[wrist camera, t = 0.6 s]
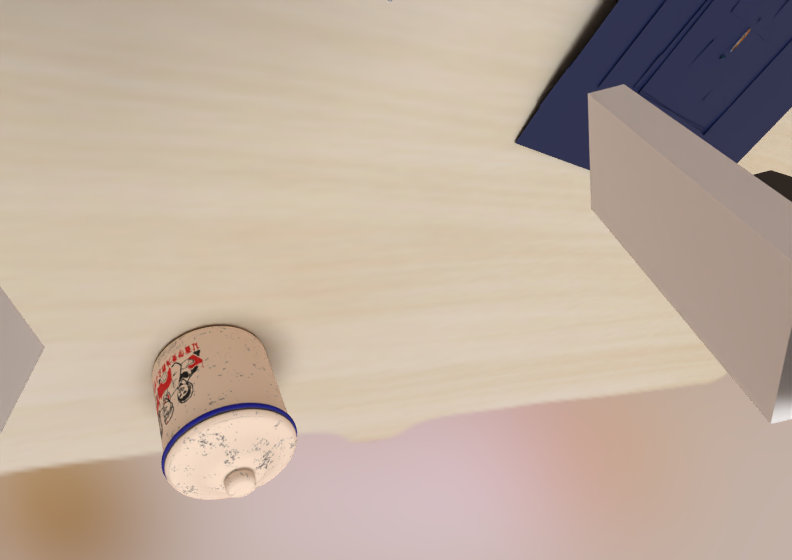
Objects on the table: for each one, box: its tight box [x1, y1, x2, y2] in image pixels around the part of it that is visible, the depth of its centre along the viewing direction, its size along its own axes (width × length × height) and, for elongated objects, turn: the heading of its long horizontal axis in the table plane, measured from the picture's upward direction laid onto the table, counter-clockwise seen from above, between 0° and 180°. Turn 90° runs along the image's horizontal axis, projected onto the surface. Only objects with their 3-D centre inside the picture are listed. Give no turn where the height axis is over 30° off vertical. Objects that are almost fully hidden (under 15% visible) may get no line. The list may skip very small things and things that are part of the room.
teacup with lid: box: [152, 326, 297, 500], centre depth 45 cm, size 12×9×12 cm
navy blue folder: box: [516, 0, 792, 170], centre depth 47 cm, size 24×30×4 cm
